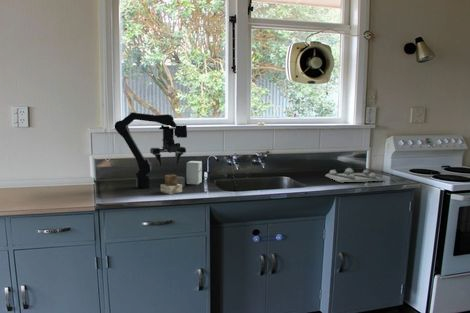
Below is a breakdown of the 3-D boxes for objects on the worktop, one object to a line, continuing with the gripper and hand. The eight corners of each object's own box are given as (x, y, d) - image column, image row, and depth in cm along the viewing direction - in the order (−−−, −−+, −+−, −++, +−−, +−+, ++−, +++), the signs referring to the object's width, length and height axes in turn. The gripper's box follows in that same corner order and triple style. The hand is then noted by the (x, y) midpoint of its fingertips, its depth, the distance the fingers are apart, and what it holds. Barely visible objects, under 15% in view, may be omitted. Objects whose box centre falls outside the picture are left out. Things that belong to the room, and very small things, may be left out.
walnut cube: (168, 186, 208) (167, 176, 208) (165, 184, 213) (164, 175, 212) (177, 185, 211) (177, 175, 210) (174, 183, 215) (173, 174, 214)
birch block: (170, 194, 207) (170, 187, 206) (160, 192, 212) (160, 184, 212) (182, 192, 213) (182, 184, 212) (172, 189, 218) (172, 182, 217)
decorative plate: (339, 184, 238) (340, 172, 237) (324, 177, 258) (325, 166, 257) (385, 182, 244) (386, 171, 243) (367, 176, 265) (367, 165, 264)
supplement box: (198, 184, 230) (198, 162, 228) (186, 184, 232) (186, 162, 230) (202, 182, 237) (202, 161, 235) (190, 181, 239) (190, 160, 237)
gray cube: (176, 187, 223) (176, 178, 222) (172, 185, 227) (172, 177, 226) (184, 186, 225) (184, 177, 225) (181, 184, 230) (181, 176, 229)
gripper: (155, 139, 208) (156, 169, 210) (189, 138, 217) (189, 167, 219) (149, 137, 218) (150, 166, 220) (182, 136, 226) (182, 164, 229)
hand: (168, 165), depth 221 cm, fingers open, 9 cm apart
